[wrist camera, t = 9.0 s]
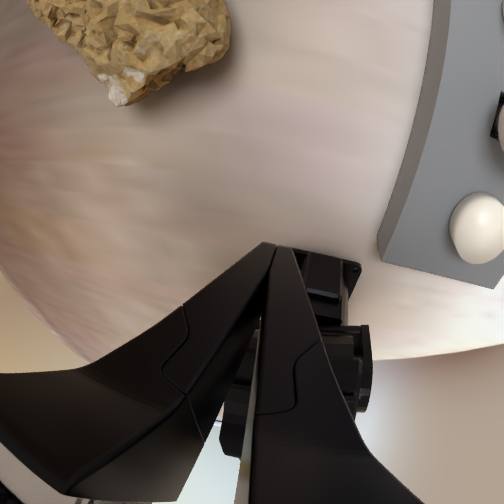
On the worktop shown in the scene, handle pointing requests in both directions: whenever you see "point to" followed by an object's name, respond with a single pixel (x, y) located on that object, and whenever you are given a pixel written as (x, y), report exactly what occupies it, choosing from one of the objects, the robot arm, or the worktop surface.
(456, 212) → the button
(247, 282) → the robot arm
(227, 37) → the sponge
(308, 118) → the worktop surface
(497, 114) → the button middle
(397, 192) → the board
